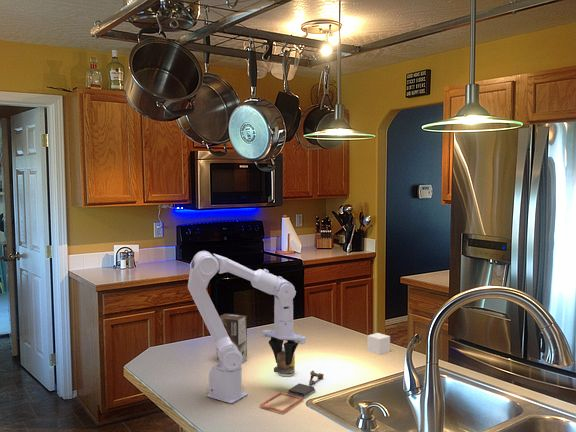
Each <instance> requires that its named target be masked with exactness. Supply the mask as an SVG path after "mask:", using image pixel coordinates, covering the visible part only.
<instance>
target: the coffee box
mask: <svg viewBox="0 0 576 432" xmlns="http://www.w3.org/2000/svg"><path fill="white" fill-rule="evenodd" d="M219 317H220V319H221V321H222V323H223V325H224V327H225V329H226V332H227V334H228V336H229V338H230V339H231V341H232V342H233V343H234V344H235V345H236V347H237V349H238V350H239V352H241V354H242V356H243V362H242V364H243V363H245V362H246V361H248V332H247V331H248V326H247V325H248V319H247V318H248V316H247V315H242V314H235V313H224V314H221V315H219ZM216 359H217V361H216V362H218V363H219V361H220V359H219V358H218V356H217V355H216Z"/></svg>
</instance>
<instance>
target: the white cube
mask: <svg viewBox="0 0 576 432" xmlns="http://www.w3.org/2000/svg"><path fill="white" fill-rule="evenodd" d="M366 338H367V340H366V341H367V342H366V343H367V344H366V345H367V347H366V348H367V349H366V350H367V352H369V353H373V354H376V355H379V356H380V355H384V354H387V353H390V352H391V335H387V334H383V333H380V332H376V333H375V332H374V333H371V334H369V335H367V337H366Z"/></svg>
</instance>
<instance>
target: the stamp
mask: <svg viewBox="0 0 576 432" xmlns="http://www.w3.org/2000/svg"><path fill="white" fill-rule="evenodd" d="M293 370H294V366H291V364H290V365H286V355H285V351H281V352H279V353H277V363H276V366H274V367H273V372H274V373H277V374H279V373H281V374H288V373H290V372H291V371H293Z"/></svg>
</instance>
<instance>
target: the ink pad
mask: <svg viewBox="0 0 576 432" xmlns="http://www.w3.org/2000/svg"><path fill="white" fill-rule="evenodd" d="M315 393H316V389H315V387H314V386H313V385H309V384H308V385H307V384H303V383H297V384H296V385H294V386H292V387H291V388H289V389H288V391H287V392H286V394H289V395H293V396H296V397H300V398H302V399H303V400H305V399H307V398H308V397H310V396H311V395H313V394H315Z"/></svg>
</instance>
